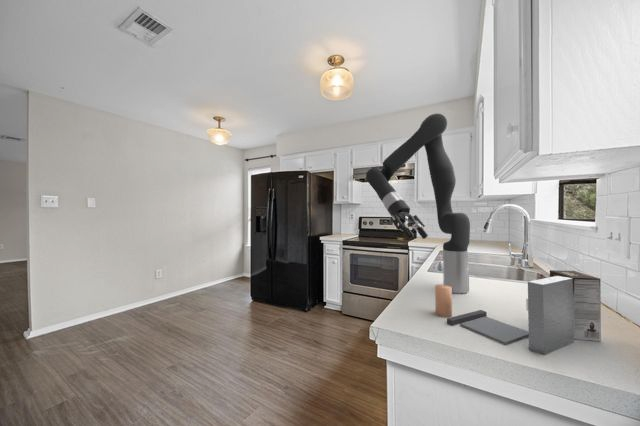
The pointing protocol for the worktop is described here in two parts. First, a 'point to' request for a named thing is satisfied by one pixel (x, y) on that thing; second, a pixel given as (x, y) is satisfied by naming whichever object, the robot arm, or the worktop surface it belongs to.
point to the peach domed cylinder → (443, 300)
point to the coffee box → (585, 304)
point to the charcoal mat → (496, 330)
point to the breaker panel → (550, 314)
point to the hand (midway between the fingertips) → (419, 237)
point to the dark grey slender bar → (466, 317)
